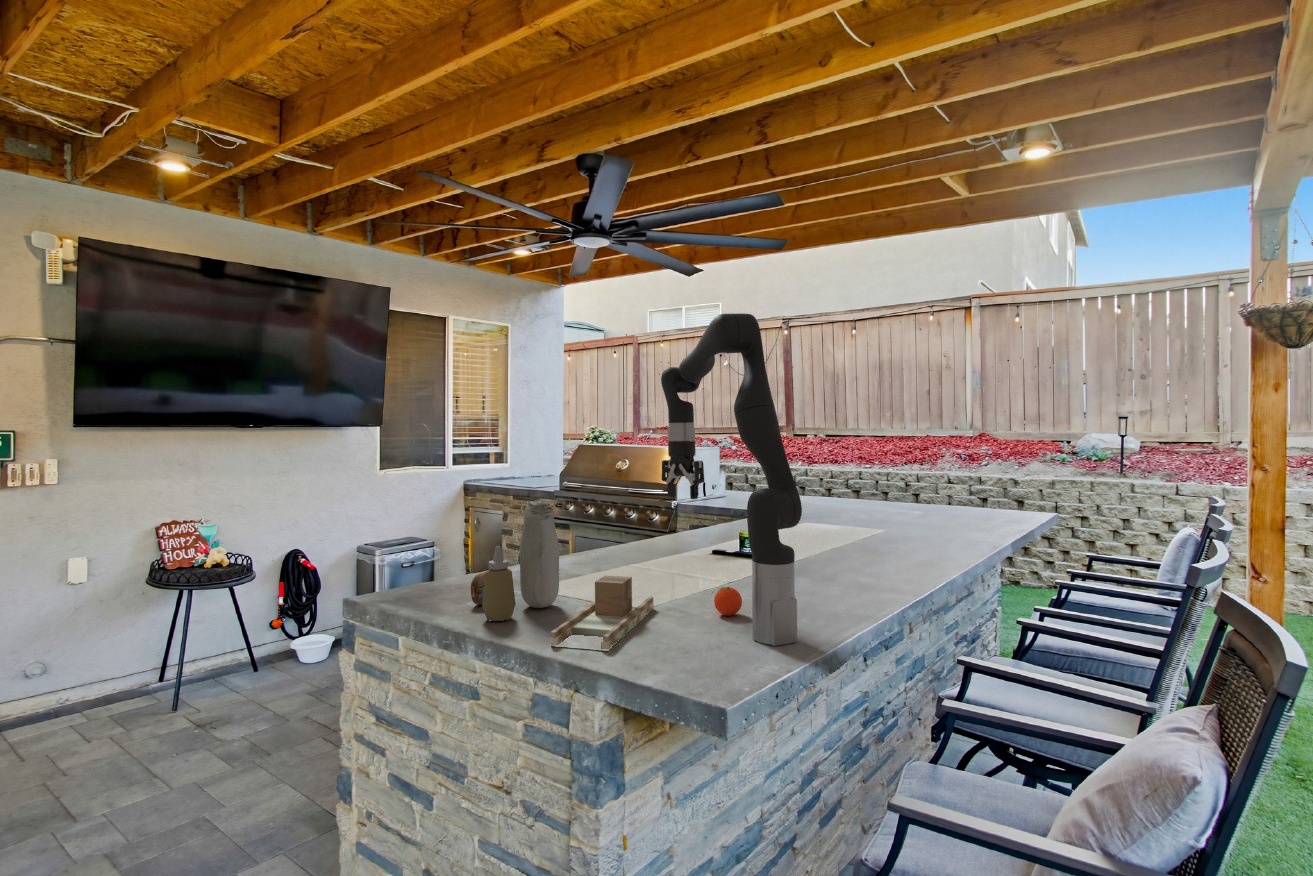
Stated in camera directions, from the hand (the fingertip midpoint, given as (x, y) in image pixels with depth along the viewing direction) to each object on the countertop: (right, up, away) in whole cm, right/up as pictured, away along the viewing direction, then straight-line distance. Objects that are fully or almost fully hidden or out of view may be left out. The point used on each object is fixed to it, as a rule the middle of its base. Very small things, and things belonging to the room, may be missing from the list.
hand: (682, 498), depth 187 cm
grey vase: (-38, -28, -9) cm, 48 cm away
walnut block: (-18, -26, -23) cm, 38 cm away
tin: (-53, -28, -3) cm, 60 cm away
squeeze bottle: (-46, -28, -21) cm, 58 cm away
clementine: (+10, -28, -19) cm, 35 cm away
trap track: (-19, -28, -27) cm, 43 cm away
